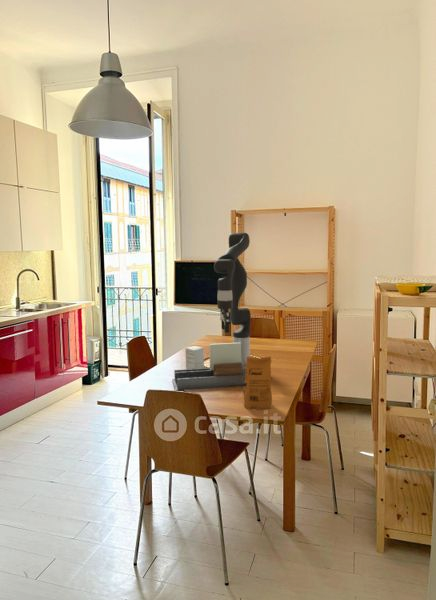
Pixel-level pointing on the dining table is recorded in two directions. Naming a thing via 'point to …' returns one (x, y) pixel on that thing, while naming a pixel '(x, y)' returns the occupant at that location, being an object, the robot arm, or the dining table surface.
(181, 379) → the rack
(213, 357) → the tall sheet
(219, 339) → the dining table surface
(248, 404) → the coffee package
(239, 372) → the offcut bundle
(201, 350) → the supplement box
